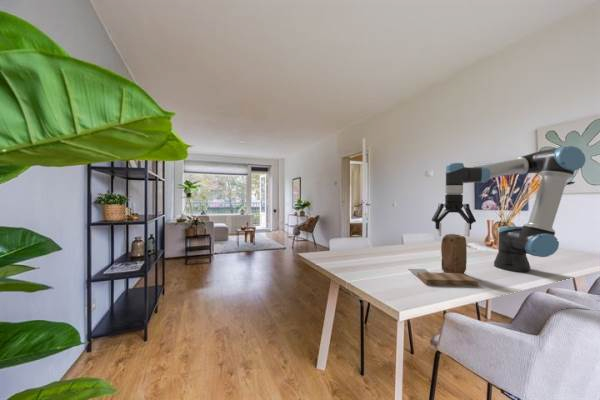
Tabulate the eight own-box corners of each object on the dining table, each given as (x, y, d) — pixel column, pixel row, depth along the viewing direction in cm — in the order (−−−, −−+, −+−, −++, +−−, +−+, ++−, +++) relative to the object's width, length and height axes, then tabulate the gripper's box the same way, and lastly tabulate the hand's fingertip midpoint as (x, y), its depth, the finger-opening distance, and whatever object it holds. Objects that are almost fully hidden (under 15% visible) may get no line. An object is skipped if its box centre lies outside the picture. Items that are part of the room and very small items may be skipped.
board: (464, 278, 118) (464, 273, 118) (477, 286, 108) (477, 280, 108) (417, 277, 119) (417, 271, 119) (426, 284, 109) (426, 279, 109)
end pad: (425, 269, 131) (425, 269, 131) (435, 277, 119) (435, 276, 119) (407, 269, 132) (407, 268, 132) (416, 276, 120) (416, 276, 120)
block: (467, 277, 120) (468, 236, 119) (454, 278, 118) (455, 237, 118) (451, 270, 130) (451, 233, 130) (438, 270, 129) (439, 233, 129)
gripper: (475, 194, 126) (474, 235, 127) (425, 193, 128) (424, 234, 128) (485, 194, 119) (483, 237, 119) (431, 193, 120) (430, 236, 121)
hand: (452, 236), depth 124 cm, fingers open, 13 cm apart
